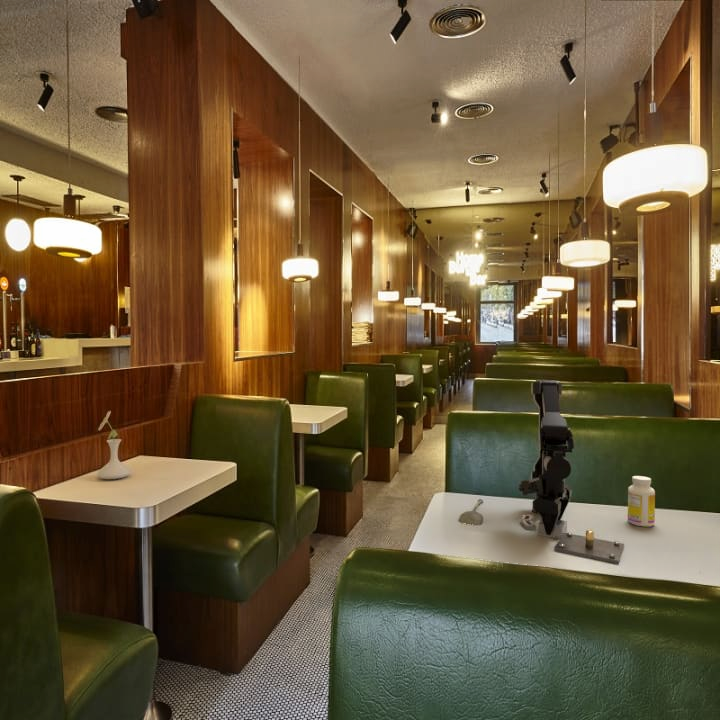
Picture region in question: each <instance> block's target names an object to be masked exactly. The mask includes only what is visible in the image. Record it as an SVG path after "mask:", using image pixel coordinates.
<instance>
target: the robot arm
mask: <svg viewBox="0 0 720 720" xmlns="http://www.w3.org/2000/svg"><path fill="white" fill-rule="evenodd" d="M530 385H531V386H530V387H531V388H530V391H531V394H530V395H533V397H532V398H533V402H534V405H535V406H536V407H537V408H538V458H537V460H536V461H535V463H534V464H533V470H531V473H530V478H527V479H522V480H521V481H520V482H519V484H518V487H519V488H518V491H519V492H521V495H522V496H528V495H530V494H535V498H534V499H533V500H532V509H531V513H537V514H539V515H540V516H541V519H542V520H543V524H544V528H545V532H546V534H547V535H551V533H552V531H553V528H554V526H555V524H556V521H557V519H558V520H562V517H563V516H564V514H565V511H566V509H567V507H568V504H569V502H570V501H571V498H572V495H573V488H572V487H570V485H569V484H568V485H567V484H566V479H567V478H569V476H570V475H571V472H572V466H571V464H570V462H569V461H568V459H567V455H566V453H573V449H574V447H575V444H574V438H573V432H572V431H571V428H570V427H569V426H568V422H567V419H566V418H564V417H563V416H562V415H561V407H560V396H562V395H563V383H562V382H559V381H557V380H555V379H535V381H534V382H531V384H530Z"/></svg>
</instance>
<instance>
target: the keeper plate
mask: <svg viewBox="0 0 720 720" xmlns="http://www.w3.org/2000/svg"><path fill="white" fill-rule="evenodd" d="M624 550H625V544H624V543H621V542H620V541H618V540H615V541H612V540H611V541H610V540H605V539H602V538H601V539H600V538H595V531H593V530H589V529H586V530H585V535H579V534H573V533H572V532H568V531H567V533H564V534H563V535H562V537H561V538H560V539H559V540H558V541H557V543H556V544H555V546H554V547H553V551H555V552H557V553H558V552H559V553H563V554H567V555H572V556H578V557H582V558H587V559H591V560H597V561H601V562H606V563H610V564H617V565H618V564H619V563H620V560H621V557H622V554H623V552H624Z"/></svg>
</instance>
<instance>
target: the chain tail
mask: <svg viewBox="0 0 720 720" xmlns="http://www.w3.org/2000/svg"><path fill="white" fill-rule="evenodd" d="M533 521H534V515H531V514H525V513H524V514H523V515H522V517H521V518H520V523H521V525H522V526H523V528H524V529H525V530H536V529H537V528H536V527H537V525H536V524H535V523H534V522H533Z"/></svg>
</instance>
